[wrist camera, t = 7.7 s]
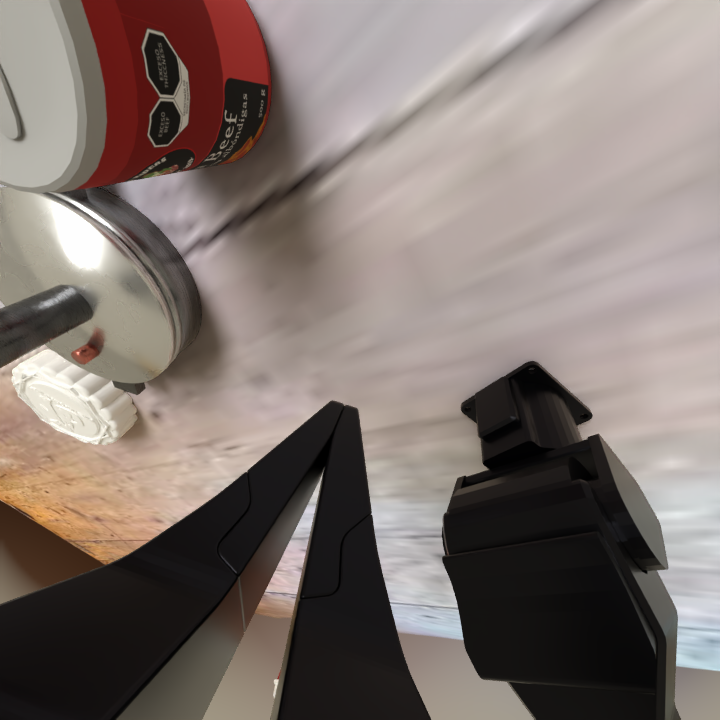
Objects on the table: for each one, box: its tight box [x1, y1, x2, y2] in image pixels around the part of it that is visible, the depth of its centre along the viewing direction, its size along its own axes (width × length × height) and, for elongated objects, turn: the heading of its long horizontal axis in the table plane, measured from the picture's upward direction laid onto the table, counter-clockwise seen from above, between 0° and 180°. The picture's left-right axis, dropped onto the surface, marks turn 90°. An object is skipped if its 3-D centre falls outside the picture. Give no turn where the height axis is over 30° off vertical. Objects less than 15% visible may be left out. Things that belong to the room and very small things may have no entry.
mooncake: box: [12, 350, 137, 445], centre depth 36 cm, size 12×12×4 cm
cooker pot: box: [48, 187, 201, 395], centre depth 25 cm, size 14×20×3 cm
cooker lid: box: [0, 187, 176, 383], centre depth 20 cm, size 15×15×9 cm
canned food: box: [0, 0, 271, 194], centre depth 12 cm, size 8×8×11 cm
